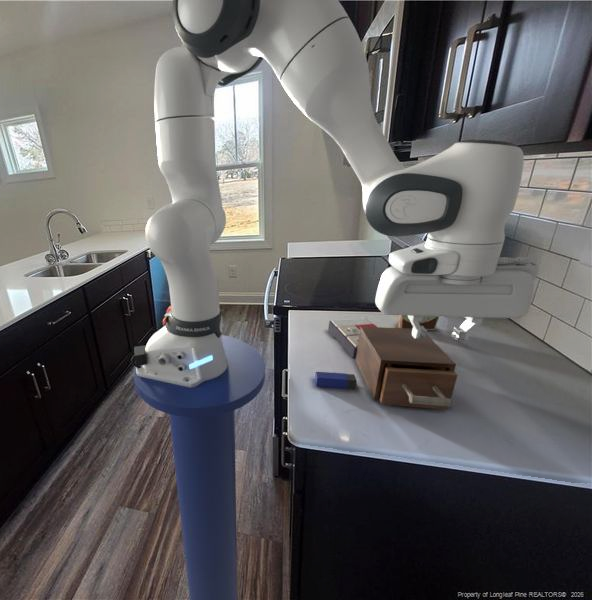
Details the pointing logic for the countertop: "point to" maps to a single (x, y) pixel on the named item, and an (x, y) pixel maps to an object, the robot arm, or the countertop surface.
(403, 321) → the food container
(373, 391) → the cabinet
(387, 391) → the drawer
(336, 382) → the blue and gray block
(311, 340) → the countertop surface
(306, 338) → the countertop surface
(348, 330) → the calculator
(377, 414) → the countertop surface
